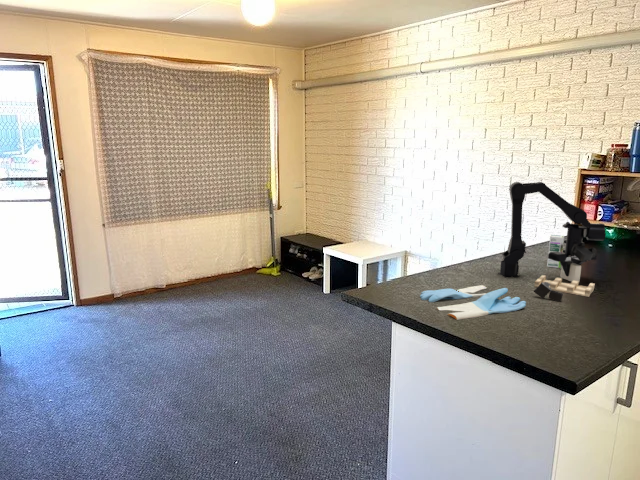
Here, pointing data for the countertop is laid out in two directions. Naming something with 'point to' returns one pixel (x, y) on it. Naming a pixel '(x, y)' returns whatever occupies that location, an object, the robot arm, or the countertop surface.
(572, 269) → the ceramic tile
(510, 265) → the robot arm
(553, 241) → the syrup box
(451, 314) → the rubber gloves
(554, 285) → the slotted rack
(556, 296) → the black joined square panels
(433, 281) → the countertop surface
